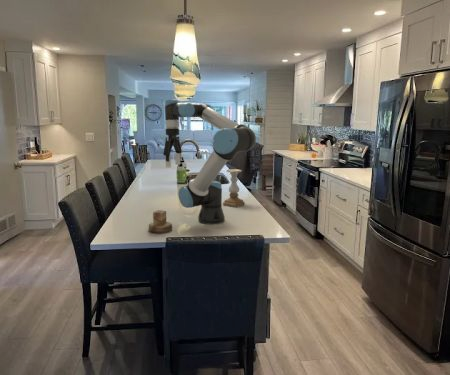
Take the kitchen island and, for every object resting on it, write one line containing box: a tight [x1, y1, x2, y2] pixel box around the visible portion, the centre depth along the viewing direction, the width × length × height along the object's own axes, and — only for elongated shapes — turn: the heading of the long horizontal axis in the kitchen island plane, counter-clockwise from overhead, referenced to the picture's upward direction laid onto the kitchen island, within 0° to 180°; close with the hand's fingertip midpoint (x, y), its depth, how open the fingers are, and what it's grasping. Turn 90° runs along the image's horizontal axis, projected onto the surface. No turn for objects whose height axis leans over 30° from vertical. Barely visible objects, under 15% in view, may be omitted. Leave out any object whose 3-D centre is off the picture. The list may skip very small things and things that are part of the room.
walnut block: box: [152, 209, 167, 226], centre depth 193 cm, size 5×5×7 cm
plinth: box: [148, 221, 173, 235], centre depth 194 cm, size 12×12×3 cm
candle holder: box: [222, 168, 246, 208], centre depth 249 cm, size 11×11×24 cm
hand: (173, 165), depth 210 cm, fingers open, 13 cm apart
